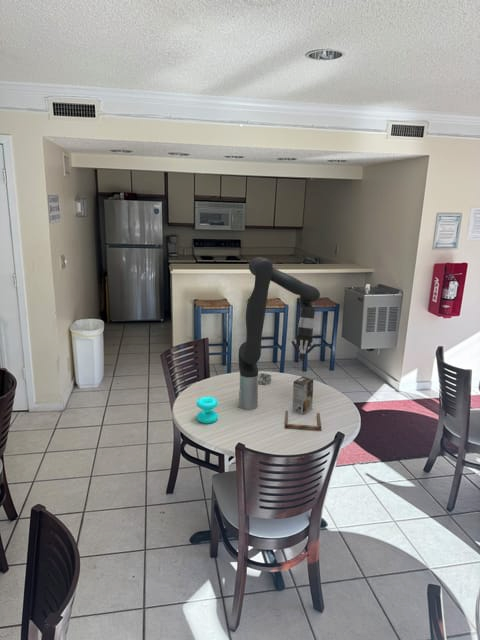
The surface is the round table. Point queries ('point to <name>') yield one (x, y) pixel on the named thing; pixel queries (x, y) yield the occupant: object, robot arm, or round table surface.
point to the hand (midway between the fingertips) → (301, 360)
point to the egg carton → (264, 378)
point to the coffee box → (302, 395)
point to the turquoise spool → (207, 410)
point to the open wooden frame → (303, 427)
